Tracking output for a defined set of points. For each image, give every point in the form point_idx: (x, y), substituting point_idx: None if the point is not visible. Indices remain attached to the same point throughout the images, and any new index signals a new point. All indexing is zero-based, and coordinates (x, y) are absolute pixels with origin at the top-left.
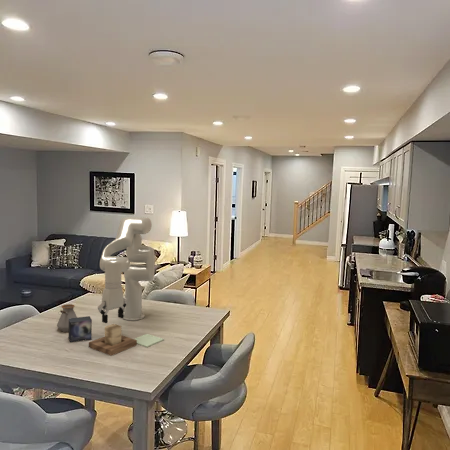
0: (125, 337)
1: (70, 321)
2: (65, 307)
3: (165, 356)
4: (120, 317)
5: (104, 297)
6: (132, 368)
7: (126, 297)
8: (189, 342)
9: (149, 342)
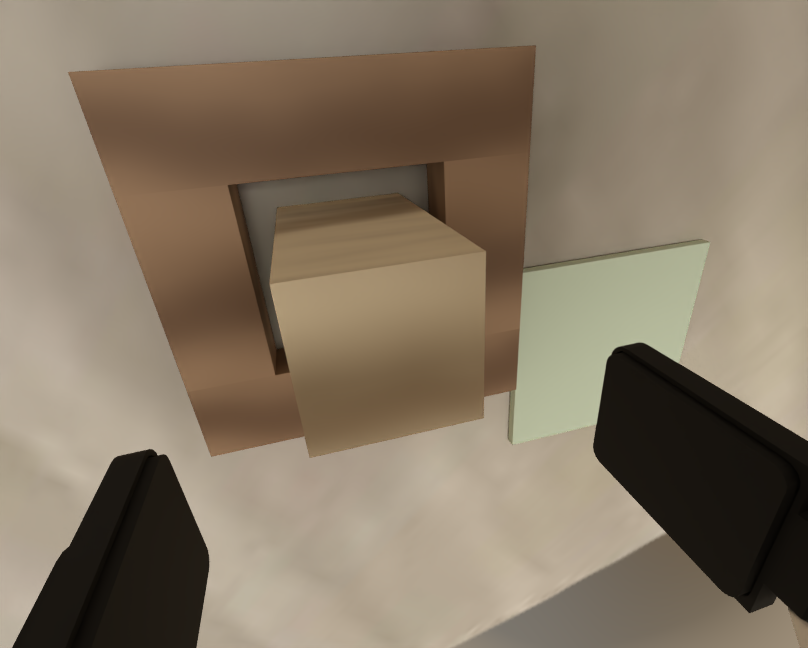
0: (503, 273)
1: None
2: None
3: (477, 575)
4: (602, 418)
5: None
6: (240, 622)
7: None
8: None
9: (572, 400)
